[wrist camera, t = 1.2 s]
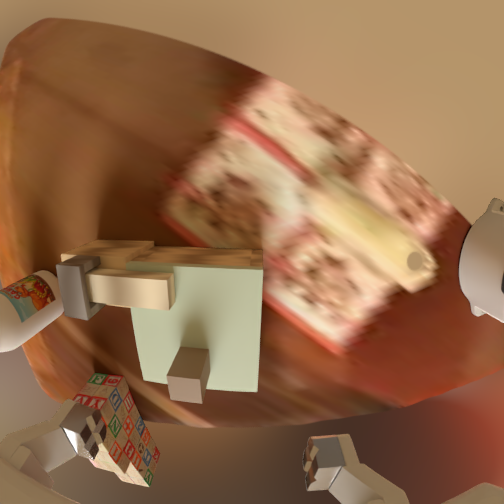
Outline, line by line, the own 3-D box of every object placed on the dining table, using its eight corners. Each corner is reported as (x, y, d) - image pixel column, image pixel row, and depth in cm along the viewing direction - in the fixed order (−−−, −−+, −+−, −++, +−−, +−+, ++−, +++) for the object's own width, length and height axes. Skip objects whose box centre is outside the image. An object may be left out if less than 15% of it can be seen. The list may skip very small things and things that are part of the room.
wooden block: (173, 273, 25) (166, 280, 23) (175, 301, 25) (169, 310, 23) (92, 267, 25) (81, 273, 23) (95, 293, 26) (86, 301, 24)
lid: (263, 266, 26) (263, 290, 20) (257, 386, 29) (256, 424, 23) (129, 260, 26) (99, 280, 20) (146, 375, 29) (128, 407, 23)
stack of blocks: (161, 453, 42) (146, 499, 31) (134, 449, 43) (116, 492, 31) (123, 375, 38) (90, 426, 26) (93, 371, 38) (57, 417, 26)
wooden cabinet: (262, 244, 32) (264, 277, 21) (257, 353, 36) (256, 415, 24) (96, 239, 33) (39, 263, 21) (110, 337, 36) (70, 383, 25)
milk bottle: (75, 310, 35) (-11, 381, 16) (47, 318, 36) (-31, 379, 17) (55, 263, 34) (-45, 314, 14) (28, 275, 34) (-59, 323, 15)
